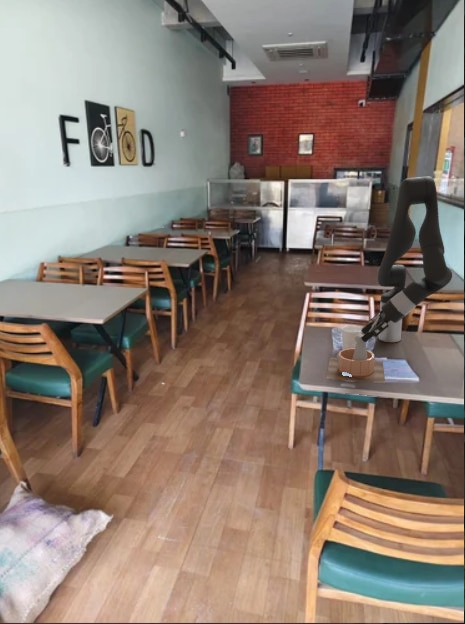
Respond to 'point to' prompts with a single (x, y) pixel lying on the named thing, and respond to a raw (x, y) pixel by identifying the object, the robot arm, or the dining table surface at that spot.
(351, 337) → the white cup
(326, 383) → the dining table surface
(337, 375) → the walnut board
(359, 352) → the salt shaker
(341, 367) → the wooden bowl
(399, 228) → the robot arm
